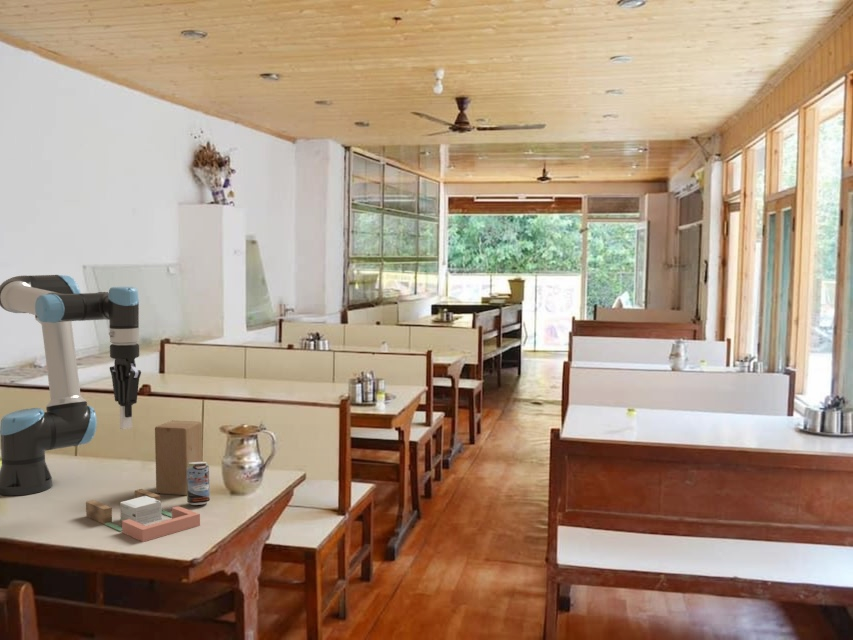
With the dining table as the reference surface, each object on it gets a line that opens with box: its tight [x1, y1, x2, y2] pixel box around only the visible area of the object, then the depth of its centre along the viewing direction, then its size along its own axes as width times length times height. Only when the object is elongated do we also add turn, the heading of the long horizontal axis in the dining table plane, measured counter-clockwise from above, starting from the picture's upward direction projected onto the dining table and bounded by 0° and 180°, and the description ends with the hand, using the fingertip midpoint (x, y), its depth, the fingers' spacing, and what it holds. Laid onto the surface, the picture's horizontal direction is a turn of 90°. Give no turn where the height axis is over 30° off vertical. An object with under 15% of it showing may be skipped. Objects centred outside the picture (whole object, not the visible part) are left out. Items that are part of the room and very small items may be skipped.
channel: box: [85, 488, 161, 526], centre depth 214 cm, size 10×16×4 cm, turn 139°
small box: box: [119, 496, 163, 525], centre depth 209 cm, size 8×8×5 cm
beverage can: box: [186, 461, 211, 506], centre depth 222 cm, size 6×7×12 cm
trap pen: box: [121, 506, 201, 543], centre depth 201 cm, size 10×16×3 cm, turn 139°
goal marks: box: [105, 508, 172, 533], centre depth 208 cm, size 8×16×1 cm, turn 139°
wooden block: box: [154, 419, 203, 496], centre depth 235 cm, size 10×10×20 cm
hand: (126, 428), depth 218 cm, fingers closed
